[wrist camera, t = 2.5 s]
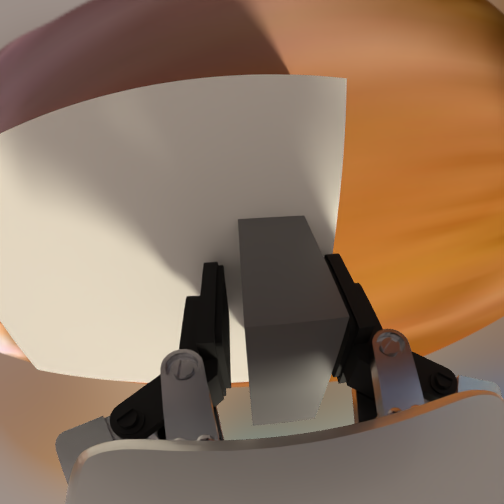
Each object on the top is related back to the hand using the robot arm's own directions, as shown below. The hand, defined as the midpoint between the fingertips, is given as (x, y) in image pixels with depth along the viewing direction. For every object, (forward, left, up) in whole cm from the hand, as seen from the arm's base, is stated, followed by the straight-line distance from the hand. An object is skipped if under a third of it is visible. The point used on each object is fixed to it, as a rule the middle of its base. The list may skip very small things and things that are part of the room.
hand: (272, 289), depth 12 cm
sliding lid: (+5, +5, -1) cm, 8 cm away
